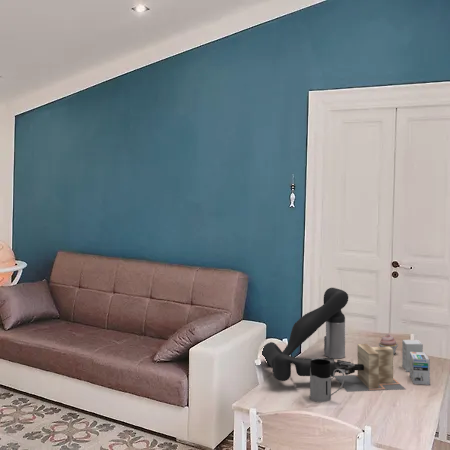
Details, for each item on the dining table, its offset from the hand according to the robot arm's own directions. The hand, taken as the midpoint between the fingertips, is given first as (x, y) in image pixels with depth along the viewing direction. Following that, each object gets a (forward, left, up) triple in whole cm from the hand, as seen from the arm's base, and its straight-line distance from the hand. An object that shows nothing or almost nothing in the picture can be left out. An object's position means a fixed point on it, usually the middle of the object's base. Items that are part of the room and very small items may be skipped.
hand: (363, 367), depth 218 cm
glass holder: (-4, -25, -8) cm, 27 cm away
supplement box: (+11, +32, -8) cm, 34 cm away
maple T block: (+4, +4, -6) cm, 9 cm away
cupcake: (-6, +50, -8) cm, 51 cm away
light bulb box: (+17, +19, -8) cm, 27 cm away
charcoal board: (+2, +2, -7) cm, 8 cm away
